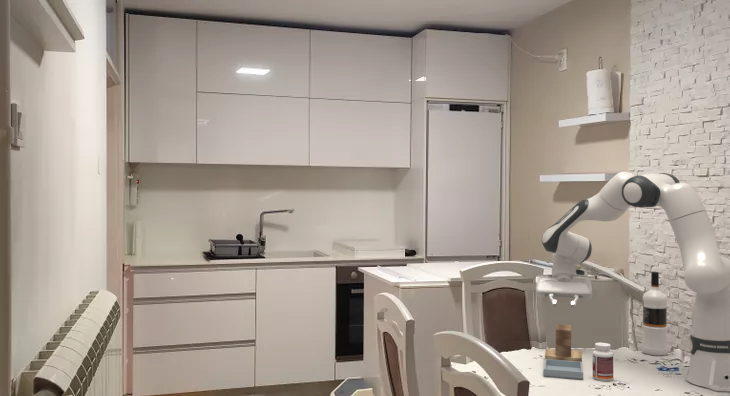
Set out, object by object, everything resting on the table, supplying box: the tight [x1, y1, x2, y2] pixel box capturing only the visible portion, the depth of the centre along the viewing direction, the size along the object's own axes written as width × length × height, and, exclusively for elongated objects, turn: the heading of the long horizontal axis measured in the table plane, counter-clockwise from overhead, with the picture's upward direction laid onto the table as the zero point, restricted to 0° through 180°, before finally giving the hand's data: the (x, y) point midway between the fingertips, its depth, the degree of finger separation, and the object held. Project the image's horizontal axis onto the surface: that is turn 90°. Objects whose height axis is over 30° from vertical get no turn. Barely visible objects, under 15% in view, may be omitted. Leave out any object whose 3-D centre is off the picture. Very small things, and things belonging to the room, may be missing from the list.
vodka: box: [640, 271, 669, 357], centre depth 232 cm, size 9×9×30 cm
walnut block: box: [555, 323, 572, 357], centre depth 218 cm, size 5×9×9 cm, turn 162°
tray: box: [543, 358, 584, 381], centre depth 206 cm, size 12×13×2 cm
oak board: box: [544, 348, 583, 363], centre depth 218 cm, size 12×10×4 cm
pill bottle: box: [592, 342, 614, 382], centre depth 200 cm, size 6×6×11 cm
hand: (563, 306), depth 231 cm, fingers open, 5 cm apart
